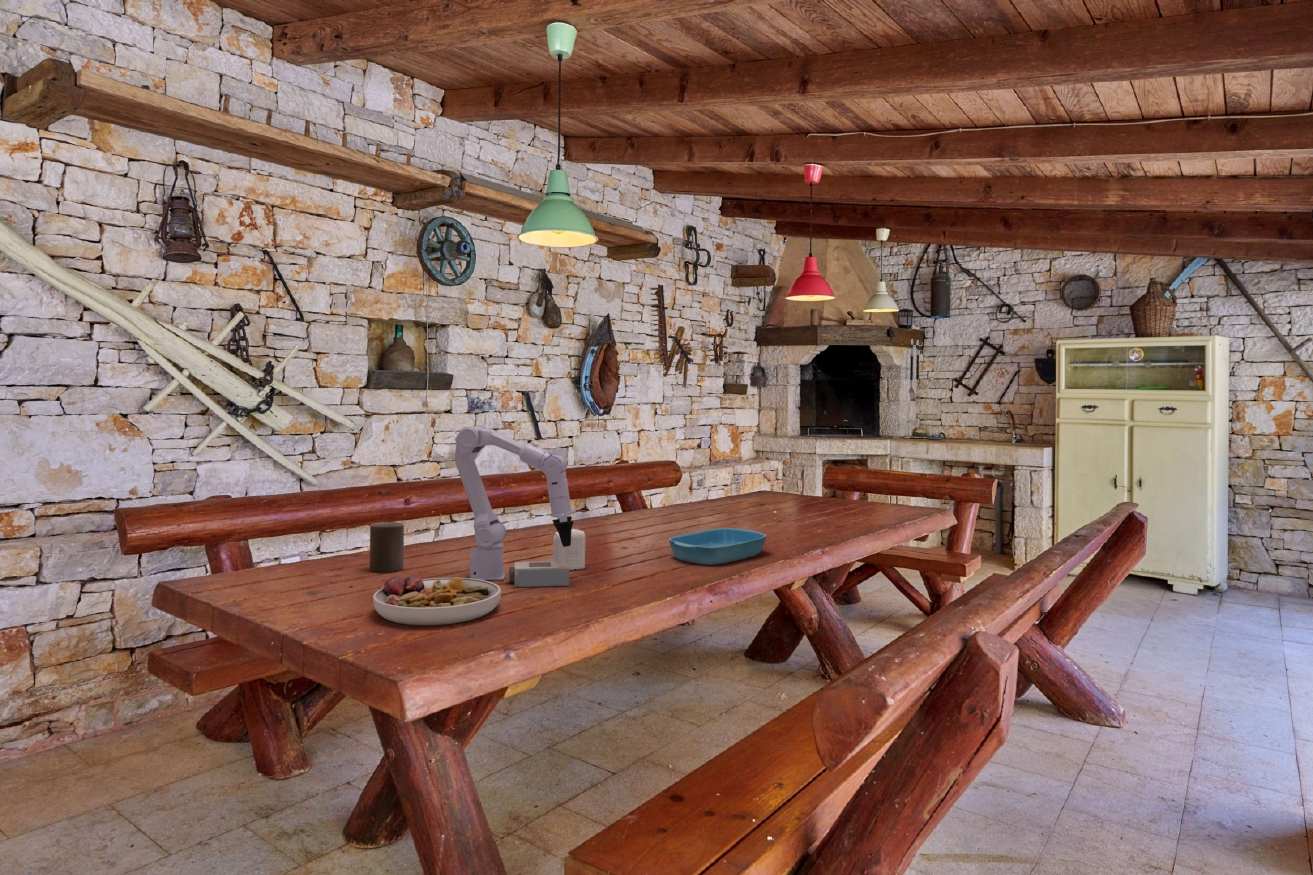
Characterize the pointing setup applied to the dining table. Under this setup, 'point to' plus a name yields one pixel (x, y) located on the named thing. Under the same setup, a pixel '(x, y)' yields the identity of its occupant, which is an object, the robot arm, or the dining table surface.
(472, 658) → the dining table surface
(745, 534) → the casserole dish
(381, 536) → the pillar candle
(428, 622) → the bowl
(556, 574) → the grey and orange bar
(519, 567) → the camera housing
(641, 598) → the dining table surface
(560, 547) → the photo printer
